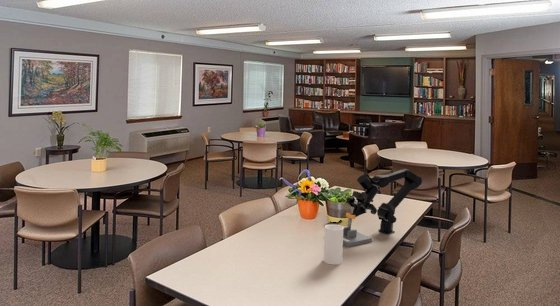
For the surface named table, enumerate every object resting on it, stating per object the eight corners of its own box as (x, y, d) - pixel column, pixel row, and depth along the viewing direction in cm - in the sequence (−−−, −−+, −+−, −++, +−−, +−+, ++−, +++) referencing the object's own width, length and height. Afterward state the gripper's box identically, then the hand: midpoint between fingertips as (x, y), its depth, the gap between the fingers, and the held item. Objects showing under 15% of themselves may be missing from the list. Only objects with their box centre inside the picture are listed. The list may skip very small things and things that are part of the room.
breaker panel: (348, 231, 236) (348, 222, 235) (371, 241, 221) (372, 231, 220) (325, 236, 227) (325, 226, 226) (348, 247, 212) (348, 236, 211)
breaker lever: (346, 232, 226) (348, 212, 225) (353, 235, 222) (355, 214, 221) (343, 233, 225) (346, 212, 224) (350, 235, 221) (352, 215, 220)
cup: (329, 256, 200) (330, 223, 198) (345, 260, 195) (346, 226, 193) (320, 261, 193) (321, 227, 191) (336, 266, 188) (338, 231, 186)
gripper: (349, 182, 232) (332, 204, 227) (374, 189, 216) (356, 213, 212) (359, 194, 237) (343, 216, 233) (384, 202, 221) (367, 226, 217)
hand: (352, 217), depth 223 cm, fingers closed, pressing on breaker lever
